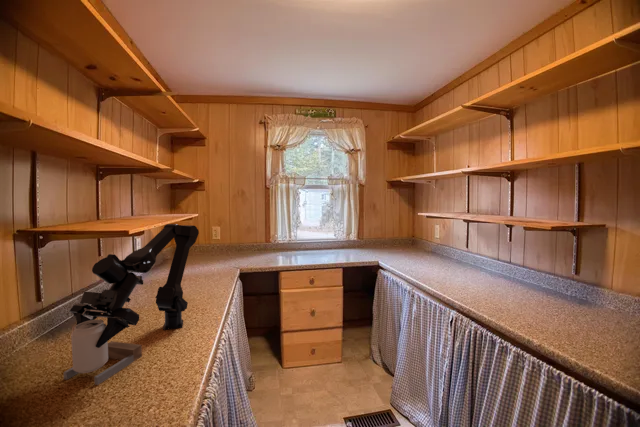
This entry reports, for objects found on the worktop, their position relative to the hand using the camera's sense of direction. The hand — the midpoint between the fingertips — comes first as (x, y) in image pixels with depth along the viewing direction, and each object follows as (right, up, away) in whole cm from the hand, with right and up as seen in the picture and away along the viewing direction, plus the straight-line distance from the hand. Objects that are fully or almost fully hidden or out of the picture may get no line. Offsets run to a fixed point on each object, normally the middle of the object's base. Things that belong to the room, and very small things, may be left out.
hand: (85, 345), depth 76 cm
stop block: (+2, -9, +11) cm, 14 cm away
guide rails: (+1, -9, +5) cm, 10 cm away
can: (0, -7, +2) cm, 7 cm away
